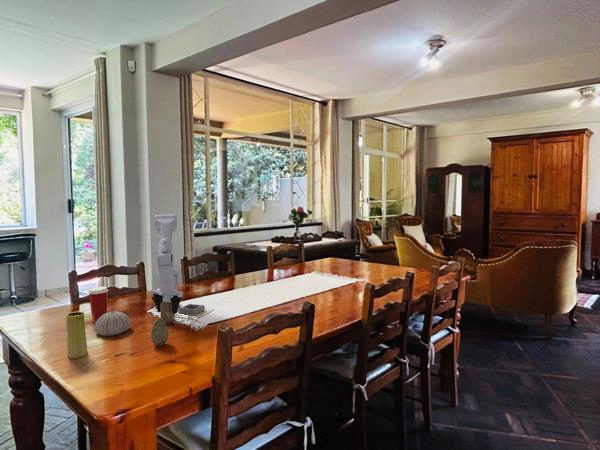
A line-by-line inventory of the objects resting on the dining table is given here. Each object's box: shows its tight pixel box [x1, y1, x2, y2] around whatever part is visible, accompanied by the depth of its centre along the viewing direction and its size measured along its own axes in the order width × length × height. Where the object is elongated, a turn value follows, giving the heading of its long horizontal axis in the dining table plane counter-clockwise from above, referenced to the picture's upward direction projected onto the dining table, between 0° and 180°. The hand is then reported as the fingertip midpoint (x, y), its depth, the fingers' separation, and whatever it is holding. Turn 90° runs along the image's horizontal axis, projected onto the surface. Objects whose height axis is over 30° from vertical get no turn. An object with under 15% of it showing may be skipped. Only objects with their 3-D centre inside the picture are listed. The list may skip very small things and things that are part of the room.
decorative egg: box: [150, 317, 169, 347], centre depth 146 cm, size 6×6×10 cm
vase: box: [65, 311, 89, 359], centre depth 137 cm, size 6×6×14 cm
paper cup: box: [87, 286, 109, 324], centre depth 174 cm, size 8×8×14 cm
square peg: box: [159, 301, 176, 323], centre depth 173 cm, size 4×4×8 cm
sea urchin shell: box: [93, 310, 132, 337], centre depth 160 cm, size 13×14×8 cm
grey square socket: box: [175, 303, 215, 319], centre depth 183 cm, size 14×14×4 cm
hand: (167, 312), depth 173 cm, fingers open, 7 cm apart
